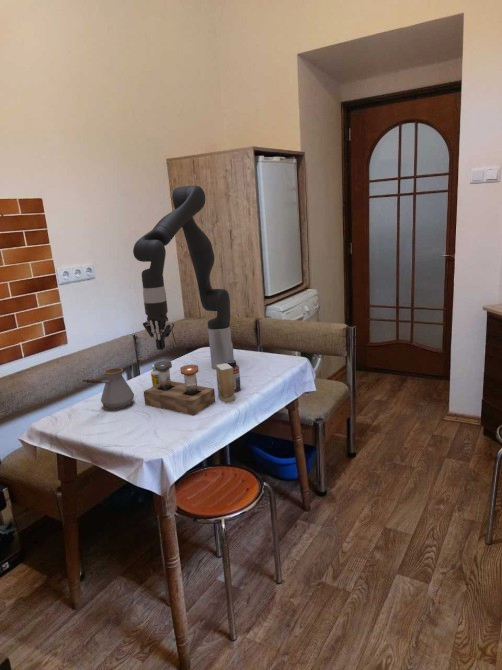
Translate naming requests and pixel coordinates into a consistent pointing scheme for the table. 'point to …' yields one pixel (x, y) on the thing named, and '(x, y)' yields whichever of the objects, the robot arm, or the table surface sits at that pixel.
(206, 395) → the socket board
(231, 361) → the supplement bottle
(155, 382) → the supplement bottle
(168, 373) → the plug grey
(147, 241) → the robot arm
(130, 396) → the coffee pot
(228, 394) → the skincare box
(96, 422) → the table surface
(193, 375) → the plug rust
